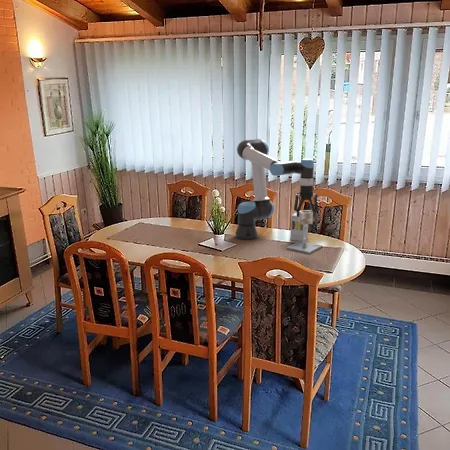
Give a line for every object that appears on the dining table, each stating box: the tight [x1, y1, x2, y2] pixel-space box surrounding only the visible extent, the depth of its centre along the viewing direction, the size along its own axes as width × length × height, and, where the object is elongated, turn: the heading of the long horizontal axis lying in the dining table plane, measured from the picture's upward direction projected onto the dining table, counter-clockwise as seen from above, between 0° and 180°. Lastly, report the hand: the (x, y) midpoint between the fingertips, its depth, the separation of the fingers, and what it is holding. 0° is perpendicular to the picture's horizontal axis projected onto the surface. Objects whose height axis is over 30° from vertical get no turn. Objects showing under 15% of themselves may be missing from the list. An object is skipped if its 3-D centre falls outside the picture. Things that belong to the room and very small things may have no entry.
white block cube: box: [299, 209, 314, 225], centre depth 284 cm, size 7×7×7 cm
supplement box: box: [289, 212, 309, 242], centre depth 307 cm, size 10×9×17 cm
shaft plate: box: [286, 238, 323, 255], centre depth 289 cm, size 16×17×6 cm
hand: (305, 221), depth 285 cm, fingers closed on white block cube, 7 cm apart
